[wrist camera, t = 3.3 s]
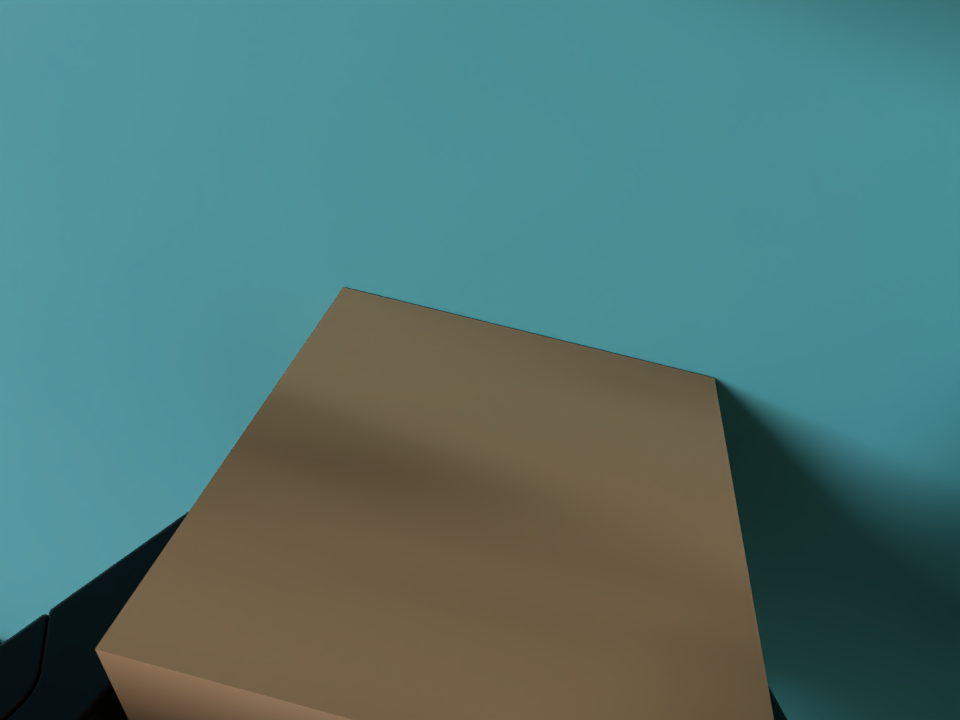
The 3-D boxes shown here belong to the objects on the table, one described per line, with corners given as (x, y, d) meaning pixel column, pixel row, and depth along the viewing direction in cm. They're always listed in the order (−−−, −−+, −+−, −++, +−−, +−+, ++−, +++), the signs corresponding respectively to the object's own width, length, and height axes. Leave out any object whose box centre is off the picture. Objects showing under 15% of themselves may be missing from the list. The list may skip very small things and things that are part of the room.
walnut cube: (604, 585, 11) (592, 959, 7) (336, 515, 11) (188, 843, 8) (714, 377, 8) (795, 840, 4) (342, 286, 8) (94, 649, 4)
